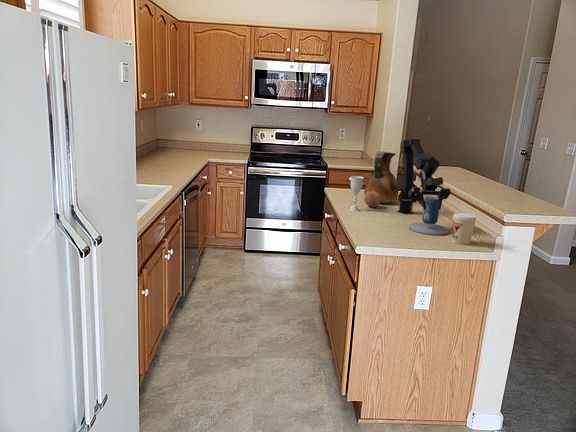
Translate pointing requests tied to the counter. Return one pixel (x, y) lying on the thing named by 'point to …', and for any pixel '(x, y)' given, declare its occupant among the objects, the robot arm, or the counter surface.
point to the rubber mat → (429, 229)
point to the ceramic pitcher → (383, 178)
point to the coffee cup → (462, 228)
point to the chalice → (356, 189)
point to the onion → (372, 198)
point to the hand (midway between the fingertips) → (432, 208)
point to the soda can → (431, 210)
